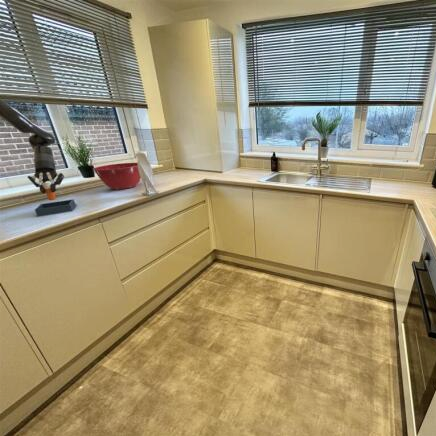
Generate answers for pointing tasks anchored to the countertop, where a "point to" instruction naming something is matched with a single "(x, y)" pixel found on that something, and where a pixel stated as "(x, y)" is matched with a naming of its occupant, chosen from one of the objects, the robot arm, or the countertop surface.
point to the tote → (55, 207)
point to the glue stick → (49, 191)
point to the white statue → (146, 173)
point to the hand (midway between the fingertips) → (48, 192)
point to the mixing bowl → (119, 175)
